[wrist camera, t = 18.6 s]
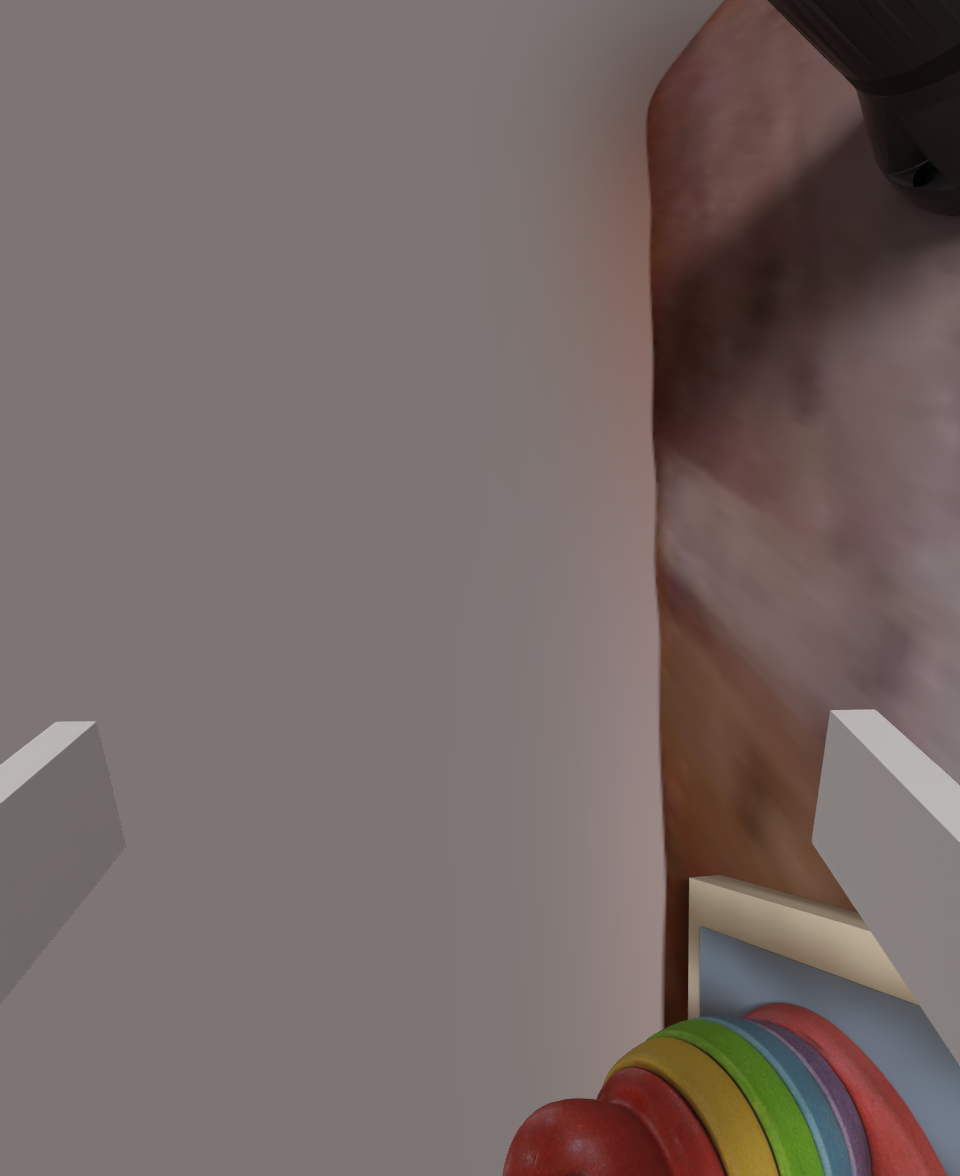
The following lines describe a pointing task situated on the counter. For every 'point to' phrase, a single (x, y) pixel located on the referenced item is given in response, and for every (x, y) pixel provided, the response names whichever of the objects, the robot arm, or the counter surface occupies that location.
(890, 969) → the plinth
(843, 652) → the counter surface
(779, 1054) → the stacking bear
